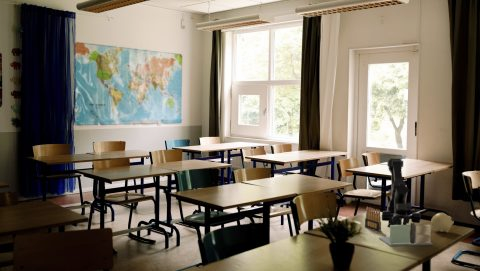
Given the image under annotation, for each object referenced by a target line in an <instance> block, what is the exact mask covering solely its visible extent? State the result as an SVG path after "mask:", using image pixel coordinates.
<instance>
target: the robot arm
mask: <svg viewBox="0 0 480 271" xmlns="http://www.w3.org/2000/svg"><path fill="white" fill-rule="evenodd" d="M386 161H387V163H386V164H387V168H388V171H389V172H390V175H391V176H390V177H391V181H390V182H391V184H390V185H391V189H390V190H391V194H390V195H391V199H390V200H389V202H388V205H387V208H386V210H382V212H381V221H382V222H383V221H384V222H388V224H387V227H388V228H390V225H409V223H410V220H411V223H415V224H419V223H420V222H421V219H422V215H421V213H419V212H412V214H411V215H410V214H408V210H410V211H411V210H412V203H411V202H406V201H407V200H406V199H407V196H408V193H409V192H410V189H408V186H406V182H405V180H403V172H402V169H403V167H404V160H402V159H401V158H397V157H396V158H391V157H390V158H389V159H387V160H386Z"/></svg>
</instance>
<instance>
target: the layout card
mask: <svg viewBox="0 0 480 271" xmlns="http://www.w3.org/2000/svg"><path fill="white" fill-rule="evenodd" d="M378 239H379V240H381V241H382V242H383V243H385V244H386V245H388V246H389V247H406V246H407V247H408V246H412V247H413V246H429V245H431V246H432V245H434V243H432V242H431V241H430V243H415V244H411V243H396V244H390V236H383V237H378Z"/></svg>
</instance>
